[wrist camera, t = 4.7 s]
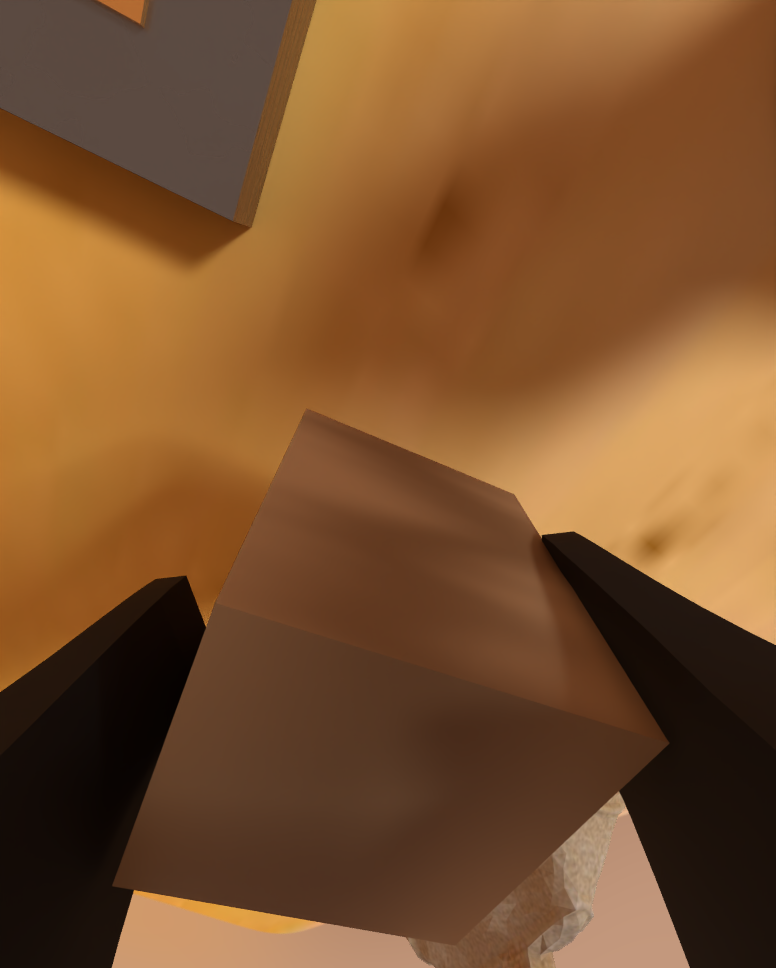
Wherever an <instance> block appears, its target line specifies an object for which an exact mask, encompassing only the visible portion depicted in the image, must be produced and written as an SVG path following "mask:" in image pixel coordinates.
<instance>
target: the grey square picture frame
mask: <svg viewBox="0 0 776 968" xmlns="http://www.w3.org/2000/svg"><path fill="white" fill-rule="evenodd" d="M315 3H316V0H0V108H1V109H3V110H6V111H8V112H10V113H12V114H14V115H16V116H18V117H20V118H22V119H24V120H26V121H28V122H30V123H32V124H34V125H36V126H38V127H40V128H42V129H45V130H47V131H49V132H51V133H53V134H55V135H57V136H59V137H61V138H63V139H65V140H67V141H69V142H71V143H73V144H75V145H77V146H79V147H81V148H83V149H86V150H88V151H90V152H92V153H94V154H96V155H98V156H100V157H102V158H104V159H106V160H108V161H110V162H112V163H114V164H116V165H118V166H120V167H122V168H125V169H127V170H129V171H131V172H133V173H135V174H137V175H139V176H141V177H143V178H145V179H147V180H149V181H151V182H153V183H155V184H157V185H159V186H161V187H163V188H166V189H168V190H170V191H172V192H174V193H176V194H178V195H180V196H182V197H184V198H186V199H188V200H190V201H192V202H194V203H196V204H198V205H200V206H202V207H205V208H207V209H209V210H211V211H213V212H215V213H217V214H219V215H221V216H223V217H225V218H227V219H229V220H231V221H233V222H236V223H239V224H242V225H245V226H248V227H252V223H253V220H254V216H255V213H256V209H257V206H258V202H259V199H260V195H261V192H262V188H263V185H264V181H265V178H266V174H267V171H268V167H269V164H270V160H271V157H272V153H273V150H274V146H275V143H276V139H277V136H278V132H279V129H280V125H281V122H282V118H283V115H284V111H285V108H286V104H287V101H288V97H289V94H290V90H291V87H292V83H293V80H294V76H295V73H296V69H297V66H298V62H299V59H300V55H301V52H302V48H303V45H304V41H305V38H306V34H307V31H308V27H309V24H310V20H311V17H312V13H313V10H314V6H315Z"/></svg>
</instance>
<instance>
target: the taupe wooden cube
mask: <svg viewBox="0 0 776 968" xmlns="http://www.w3.org/2000/svg"><path fill="white" fill-rule="evenodd" d="M668 744H669V742H668V740H667V739H666V737H665V735H664V734H663V732H662V731H661V729H660V727H659V726H658V724H657V723H656V721H655V719H654V718H653V716H652V715H651V713H650V711H649V710H648V708H647V707H646V705H645V703H644V702H643V700H642V699H641V697H640V695H639V694H638V692H637V690H636V689H635V687H634V686H633V684H632V682H631V681H630V679H629V678H628V676H627V674H626V673H625V671H624V670H623V668H622V666H621V665H620V663H619V662H618V660H617V658H616V657H615V655H614V654H613V652H612V650H611V649H610V647H609V646H608V644H607V642H606V641H605V639H604V638H603V636H602V634H601V633H600V631H599V630H598V628H597V626H596V625H595V623H594V622H593V620H592V618H591V617H590V615H589V614H588V612H587V610H586V609H585V607H584V606H583V604H582V602H581V601H580V599H579V598H578V596H577V594H576V593H575V591H574V590H573V588H572V586H571V585H570V584H569V582H568V581H567V579H566V578H565V577H564V575H563V574H562V572H561V571H560V569H559V568H558V566H557V564H556V563H555V561H554V560H553V558H552V556H551V555H550V553H549V551H548V550H547V548H546V547H545V545H544V543H543V542H542V538H541V537H540V535H539V533H538V532H537V530H536V529H535V527H534V525H533V524H532V522H531V521H530V519H529V517H528V516H527V514H526V513H525V511H524V509H523V508H522V506H521V505H520V503H519V501H518V500H517V498H516V497H515V495H514V494H512V493H509V492H507V491H505V490H502V489H500V488H497V487H495V486H493V485H490V484H488V483H485V482H483V481H480V480H478V479H476V478H473V477H471V476H468V475H466V474H464V473H461V472H459V471H456V470H454V469H451V468H449V467H447V466H444V465H442V464H439V463H437V462H435V461H432V460H430V459H427V458H425V457H422V456H420V455H418V454H415V453H413V452H410V451H408V450H406V449H403V448H401V447H398V446H396V445H393V444H391V443H389V442H386V441H384V440H381V439H379V438H377V437H374V436H372V435H369V434H367V433H365V432H362V431H360V430H357V429H355V428H352V427H350V426H348V425H345V424H343V423H340V422H338V421H336V420H333V419H331V418H328V417H326V416H323V415H321V414H319V413H316V412H314V411H311V410H309V409H307V408H306V411H305V413H304V415H303V417H302V419H301V421H300V423H299V426H298V428H297V430H296V432H295V434H294V436H293V438H292V440H291V443H290V445H289V447H288V449H287V451H286V453H285V455H284V457H283V460H282V462H281V464H280V466H279V468H278V470H277V472H276V474H275V477H274V479H273V481H272V483H271V485H270V487H269V489H268V491H267V494H266V496H265V498H264V500H263V502H262V504H261V506H260V508H259V511H258V513H257V515H256V517H255V519H254V521H253V523H252V525H251V528H250V530H249V532H248V534H247V536H246V538H245V540H244V542H243V545H242V547H241V549H240V551H239V553H238V555H237V557H236V559H235V562H234V564H233V566H232V568H231V570H230V572H229V574H228V576H227V579H226V581H225V583H224V585H223V587H222V589H221V591H220V594H219V596H218V598H217V600H216V602H215V605H214V607H213V610H212V613H211V616H210V618H209V621H208V624H207V627H206V629H205V632H204V635H203V637H202V640H201V643H200V646H199V648H198V651H197V654H196V657H195V659H194V662H193V665H192V668H191V670H190V673H189V676H188V679H187V681H186V684H185V687H184V690H183V692H182V695H181V698H180V701H179V703H178V706H177V709H176V712H175V714H174V717H173V720H172V723H171V725H170V728H169V731H168V734H167V736H166V739H165V742H164V745H163V747H162V750H161V753H160V756H159V758H158V761H157V764H156V767H155V769H154V772H153V775H152V778H151V780H150V783H149V786H148V789H147V791H146V794H145V797H144V800H143V802H142V805H141V808H140V811H139V813H138V816H137V819H136V822H135V824H134V827H133V830H132V833H131V835H130V838H129V841H128V844H127V846H126V849H125V852H124V855H123V857H122V860H121V863H120V866H119V868H118V871H117V874H116V877H115V879H114V882H113V885H112V886H114V887H120V888H126V889H132V890H137V891H143V892H149V893H155V894H160V895H166V896H172V897H178V898H183V899H189V900H195V901H201V902H206V903H212V904H218V905H224V906H229V907H235V908H241V909H247V910H253V911H258V912H264V913H270V914H276V915H281V916H287V917H293V918H299V919H304V920H310V921H316V922H322V923H327V924H334V925H340V926H345V927H350V928H356V929H362V930H368V931H373V932H379V933H385V934H391V935H397V936H402V937H408V938H414V939H420V940H425V941H431V942H437V943H443V944H448V945H454V946H455V945H456V944H457V943H458V942H459V941H460V940H461V939H462V938H464V937H465V936H466V935H467V934H468V933H469V932H470V931H471V930H472V929H473V928H474V927H475V926H476V925H477V924H478V923H479V922H481V921H482V920H483V919H484V918H485V917H486V916H487V915H488V914H489V913H490V912H491V911H492V910H493V909H494V908H495V907H496V906H498V905H499V904H500V903H501V902H502V901H503V900H504V899H505V898H506V897H507V896H508V895H509V894H510V893H511V892H512V891H513V890H514V889H516V888H517V887H518V886H519V885H520V884H521V883H522V882H523V881H524V880H525V879H526V878H527V877H528V876H529V875H530V874H531V873H533V872H534V871H535V870H536V869H537V868H538V867H539V866H540V865H541V864H542V863H543V862H544V861H545V860H546V859H547V858H548V857H550V856H551V855H552V854H553V853H554V852H555V851H556V850H557V849H558V848H559V847H560V846H561V845H562V844H563V843H564V842H565V841H566V840H568V839H569V838H570V837H571V836H572V835H573V834H574V833H575V832H576V831H577V830H578V829H579V828H580V827H581V826H582V825H583V824H585V823H586V822H587V821H588V820H589V819H590V818H591V817H592V816H593V815H594V814H595V813H596V812H597V811H598V810H599V809H600V808H601V807H603V806H604V805H605V804H606V803H607V802H608V801H609V800H610V799H611V798H612V797H613V796H614V795H615V794H616V793H617V792H618V791H620V790H621V789H622V788H623V787H624V786H625V785H626V784H627V783H628V782H629V781H630V780H631V779H632V778H633V777H634V776H635V775H637V774H638V773H639V772H640V771H641V770H642V769H643V768H644V767H645V766H646V765H647V764H648V763H649V762H650V761H651V760H652V759H653V758H655V757H656V756H657V755H658V754H659V753H660V752H661V751H662V750H663V749H664V748H665V747H666V746H667V745H668Z"/></svg>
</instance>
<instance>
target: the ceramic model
mask: <svg viewBox="0 0 776 968" xmlns="http://www.w3.org/2000/svg"><path fill="white" fill-rule="evenodd" d="M624 809H625V803H624V801H623V799H622V796H621V794H620V792H619V791H618V792H617V793H616V794H615V795H614V796H613V797H612V798H611V799H610V800H609V801H608V802H607V803H606V804H605V805H604V806H603V807H601V808H600V809H599V810H598V811H597V812H596V813H595V814H594V815H593V816H592V817H591V818H590V819H589V820H588V821H587V822H586V823H585V824H583V825H582V826H581V827H580V828H579V829H578V830H577V831H576V832H575V833H574V834H573V835H572V836H571V837H570V838H569V839H568V840H566V841H565V842H564V843H563V844H562V845H561V846H560V847H559V848H558V849H557V850H556V851H555V852H554V853H553V854H552V855H551V856H550V857H548V858H547V859H546V860H545V861H544V862H543V863H542V864H541V865H540V866H539V867H538V868H537V869H536V870H535V871H534V872H533V873H531V874H530V875H529V876H528V877H527V878H526V879H525V880H524V881H523V882H522V883H521V884H520V885H519V886H518V887H517V888H516V889H514V890H513V891H512V892H511V893H510V894H509V895H508V896H507V897H506V898H505V899H504V900H503V901H502V902H501V903H500V904H499V905H498V906H496V907H495V908H494V909H493V910H492V911H491V912H490V913H489V914H488V915H487V916H486V917H485V918H484V919H483V920H482V921H481V922H479V923H478V924H477V925H476V926H475V927H474V928H473V929H472V930H471V931H470V932H469V933H468V934H467V935H466V936H465V937H464V938H462V939H461V940H460V941H459V942H458V943H457V944H456V945H455V946H454V945H448V944H443V943H437V942H431V941H425V940H420V939H414V938H408V937H406V938H407V940H408V941H409V943H410V944H411V946H412V948H413V950H414V951H415V953H416V955H417V956H418V958H420V959H421V960H423V961H424V962H425V963H427V964H428V965H433V966H434V967H435V968H555V963H554V958H553V953H552V952H554V951H559V950H560V949H562V948H563V947H565V946H566V945H568V944H569V943H571V942H572V941H573V940H574V939H575V937H576V936H577V935H578V933H580V932H581V931H583V930H584V928H585V927H586V926H587V924H588V923H589V922H590V921H591V919H592V918H593V917H594V915H593V908H592V904H593V899H594V895H595V890H596V886H597V882H598V879H599V877H600V874H601V872H602V868H603V865H604V862H605V858H606V855H607V851H608V848H609V843H610V840H611V836H612V831H613V829H614V826H615V823H616V820H617V817H618V815H619V814H620V813H621V812H622V811H623V810H624Z"/></svg>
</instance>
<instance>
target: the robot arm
mask: <svg viewBox="0 0 776 968" xmlns="http://www.w3.org/2000/svg"><path fill="white" fill-rule="evenodd" d="M542 542H543V543H544V545H545V547H546V548H547V550H548V551H549V553H550V555H551V556H552V558H553V560H554V561H555V563H556V564H557V566H558V568H559V569H560V571H561V572H562V574H563V575H564V577H565V578H566V579H567V581H568V582H569V584H570V585H571V586H572V588H573V590H574V591H575V593H576V594H577V596H578V598H579V599H580V601H581V602H582V604H583V606H584V607H585V609H586V610H587V612H588V614H589V615H590V617H591V618H592V620H593V622H594V623H595V625H596V626H597V628H598V630H599V631H600V633H601V634H602V636H603V638H604V639H605V641H606V642H607V644H608V646H609V647H610V649H611V650H612V652H613V654H614V655H615V657H616V658H617V660H618V662H619V663H620V665H621V666H622V668H623V670H624V671H625V673H626V674H627V676H628V678H629V679H630V681H631V682H632V684H633V686H634V687H635V689H636V690H637V692H638V694H639V695H640V697H641V699H642V700H643V702H644V703H645V705H646V707H647V708H648V710H649V711H650V713H651V715H652V716H653V718H654V719H655V721H656V723H657V724H658V726H659V727H660V729H661V731H662V732H663V734H664V735H665V737H666V739H667V740H668V742H669V744H668V745H667V746H666V747H665V748H664V749H663V750H662V751H661V752H660V753H659V754H658V755H657V756H656V757H655V758H653V759H652V760H651V761H650V762H649V763H648V764H647V765H646V766H645V767H644V768H643V769H642V770H641V771H640V772H639V773H638V774H637V775H635V776H634V777H633V778H632V779H631V780H630V781H629V782H628V783H627V784H626V785H625V786H624V787H623V788H622V789H621V790H620V791H619V792H620V794H621V796H622V799H623V801H624V803H625V805H626V807H627V809H628V812H629V814H630V816H631V818H632V821H633V823H634V826H635V829H636V831H637V834H638V836H639V838H640V841H641V843H642V846H643V848H644V851H645V853H646V856H647V858H648V861H649V863H650V866H651V868H652V871H653V873H654V876H655V878H656V881H657V883H658V886H659V888H660V891H661V894H662V896H663V898H664V901H665V904H666V907H667V909H668V912H669V914H670V917H671V919H672V922H673V925H674V927H675V930H676V933H677V935H678V938H679V940H680V943H681V946H682V948H683V951H684V953H685V956H686V959H687V961H688V964H689V966H690V968H776V645H774V644H772V643H770V642H768V641H766V640H764V639H762V638H760V637H758V636H756V635H754V634H752V633H750V632H748V631H746V630H744V629H742V628H740V627H738V626H737V625H735V624H733V623H731V622H729V621H727V620H725V619H723V618H721V617H720V616H718V615H716V614H714V613H712V612H710V611H708V610H706V609H704V608H703V607H701V606H699V605H697V604H695V603H694V602H692V601H690V600H688V599H687V598H685V597H683V596H681V595H679V594H678V593H676V592H674V591H673V590H671V589H669V588H667V587H666V586H664V585H662V584H661V583H659V582H657V581H655V580H654V579H652V578H650V577H649V576H647V575H645V574H644V573H642V572H640V571H639V570H637V569H635V568H634V567H632V566H631V565H629V564H627V563H626V562H624V561H622V560H621V559H619V558H618V557H616V556H614V555H613V554H611V553H609V552H608V551H606V550H605V549H603V548H601V547H600V546H598V545H596V544H595V543H593V542H591V541H590V540H588V539H586V538H585V537H583V536H581V535H579V534H577V533H576V532H565V533H556V534H547V535H542ZM205 629H206V626H205V624H204V621H203V619H202V616H201V613H200V611H199V608H198V605H197V603H196V600H195V597H194V595H193V592H192V590H191V587H190V584H189V582H188V579H187V576H179V577H170V578H162V579H155V580H154V581H152V582H151V583H149V584H148V585H146V586H144V587H143V588H141V589H140V590H139V591H137V592H136V593H134V594H133V595H132V596H130V597H129V598H127V599H126V600H125V601H123V602H122V603H121V604H119V605H118V606H117V607H115V608H114V609H113V610H111V611H110V612H109V613H107V614H106V615H105V616H103V617H102V618H101V619H99V620H98V621H97V622H95V623H94V624H93V625H91V626H90V627H89V628H87V629H86V630H85V631H83V632H82V633H81V634H80V635H78V636H77V637H76V638H74V639H73V640H72V641H70V642H69V643H68V644H66V645H65V646H64V647H62V648H61V649H60V650H58V651H57V652H56V653H54V654H53V655H52V656H50V657H49V658H48V659H46V660H45V661H43V662H42V663H41V664H39V665H38V666H36V667H35V668H34V669H32V670H31V671H29V672H28V673H27V674H25V675H24V676H22V677H21V678H20V679H18V680H17V681H15V682H14V683H13V684H11V685H10V686H8V687H7V688H6V689H4V690H3V691H1V692H0V968H112V964H113V961H114V957H115V953H116V949H117V946H118V942H119V939H120V935H121V932H122V928H123V925H124V922H125V918H126V915H127V911H128V908H129V905H130V902H131V898H132V895H133V891H134V890H132V889H126V888H120V887H114V886H112V885H113V882H114V879H115V877H116V874H117V871H118V868H119V866H120V863H121V860H122V857H123V855H124V852H125V849H126V846H127V844H128V841H129V838H130V835H131V833H132V830H133V827H134V824H135V822H136V819H137V816H138V813H139V811H140V808H141V805H142V802H143V800H144V797H145V794H146V791H147V789H148V786H149V783H150V780H151V778H152V775H153V772H154V769H155V767H156V764H157V761H158V758H159V756H160V753H161V750H162V747H163V745H164V742H165V739H166V736H167V734H168V731H169V728H170V725H171V723H172V720H173V717H174V714H175V712H176V709H177V706H178V703H179V701H180V698H181V695H182V692H183V690H184V687H185V684H186V681H187V679H188V676H189V673H190V670H191V668H192V665H193V662H194V659H195V657H196V654H197V651H198V648H199V646H200V643H201V640H202V637H203V635H204V632H205Z"/></svg>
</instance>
